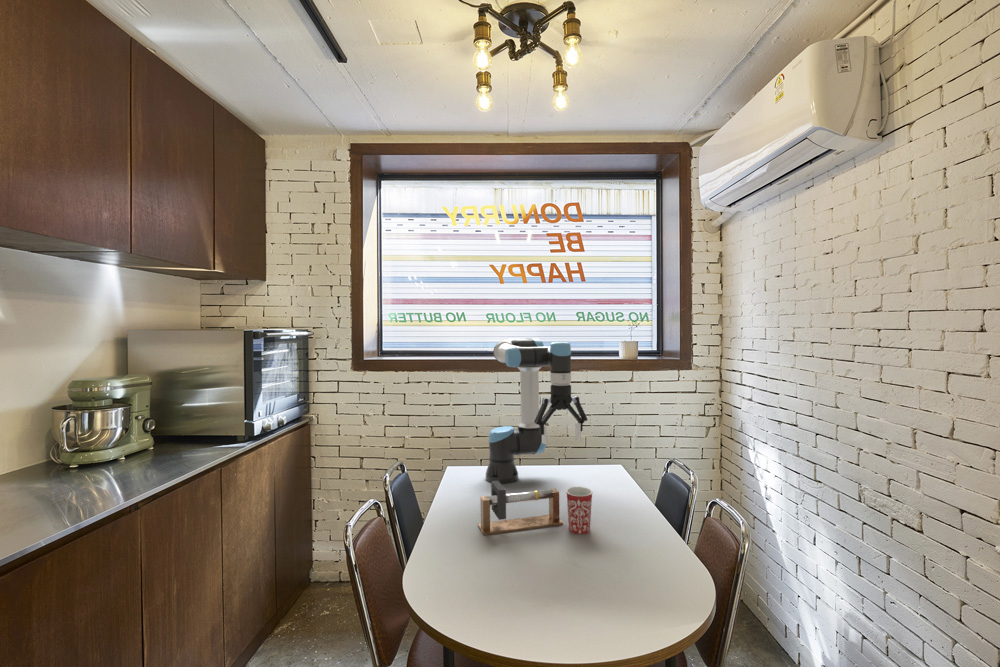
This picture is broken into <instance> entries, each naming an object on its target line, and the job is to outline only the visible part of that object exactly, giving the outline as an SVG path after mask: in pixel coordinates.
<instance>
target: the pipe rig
mask: <svg viewBox="0 0 1000 667" xmlns="http://www.w3.org/2000/svg"><path fill="white" fill-rule="evenodd" d="M479 500H480V504H479V505H480V522H479V523H478V524H477V526H478V528H479V530H480V532H481V534H482V536H487V535H488V536H489V535H496V534H504V533H511V532H517V531H525V530H532V529H533V530H534V529H541V528H547V527H549V528H550V527H555V526H556V527H557V526H563V525H564V521H562V520H561V518H560V491H559V490H558V489H557V488H548V489H542V490H532V491H523V492H522V491H521V492H515V493H506V504H511V503H519V502H520V503H521V502H529V501H539V500H548V514H545V515H544V514H543V515H536V516H528V517H520V518H512V519H502V520H497V521H496V520H495V521H491V506H492V505H496V504H497V495H495V496H491V495H484V496H482V495H481V496H480V498H479Z"/></svg>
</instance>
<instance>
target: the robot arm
mask: <svg viewBox="0 0 1000 667" xmlns="http://www.w3.org/2000/svg"><path fill="white" fill-rule="evenodd" d="M493 356H494V358H495V360H496V361H498V362H500V363H503V364H505V366H507V367H508V368H517V369H518V370H519V372H520V373H519V374H520V376H519V377H520V422H519V423H518V424H517V429H515V428H514V426H511V425H510V426H509V425H507V426H506V425H504V426H499V427H495V428H493V429H491V430H490V431H489V433H488V456H489V458H488V459H489V461H488V465H487V468H486V471H485V480H486V481H487V482H489V483H491V481H499V482H500V484H508V483H509V484H510V483H514V482H516V481H518V480H519V472H518V469H517V466H516V462H515V456H523V455H533V456H534V455H537V454H538V455H540V454H543V452H545V450H546V448H547V444H548V442H547V441H548V435H547V433H548V432H547V425H546V424H547V422H548V421H549V419H550V418H551V417H552V415H553V414H554V413H555V412H556V411H561V410H564V411H565V410H567V411H568V412H570V414H571V415H572V416H573V418H574V420H576V421H575V425H574V426H575V428H574V429H575V440H576V441H578V442H581V441H582V440H581V439H582V438H581V437H582V436H581V432H583V430H584V429H583V425H584V423H585V422H587V421H588V418H587V414H586V413H585V411H584V408H583V407H582V403H581V402H580V396H576V395H574V396H573V397H572V385H571V383H572V347H571V343H569V342H568V341H567V342H564V341H556V342H555V341H553V342H550V345H547V346H545V345H544V342H543V340H541V339H540V338H535V337H534V338H532V337H530V338H529V337H527V338H507V339H503V340H500V341H498V343H496V344H495V345H494V348H493ZM543 367H550V373H549V374H550V376H549V377H550V384H551V385H550V398H547V397H543V398H542V401H541V406H540V386H539V385H540V383H539V382H540V376H539V374H540V373H539V370H541V368H543ZM572 402H573V404H574V406H575V408H576V410H577V411H578V413H577V411H576V410H575V409H574V407H573V406H572V405H571V404H572ZM549 404H551V405H550V406H549V408H548V405H549ZM547 408H548V410H547ZM546 410H547V411H546Z"/></svg>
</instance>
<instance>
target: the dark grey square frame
mask: <svg viewBox="0 0 1000 667" xmlns="http://www.w3.org/2000/svg"><path fill="white" fill-rule="evenodd" d="M490 484H491V485H490V486H491V487H490V489H491V490H490V491H491V492H490V494H491V495H490V496H495V495H497V504H496V505H491V511H492V512H493V513H494V516H496V518H497V519H498V521H503V520H507V503H506V494H507V489H506V488H505V486H503V485H502V483H500V482H499V481H491V482H490Z"/></svg>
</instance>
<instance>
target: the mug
mask: <svg viewBox="0 0 1000 667" xmlns="http://www.w3.org/2000/svg"><path fill="white" fill-rule="evenodd" d="M565 493H566V503H567V504H566V505H567V518H568V520H567V521H568V522H567V523H568V531H570V532H571V533H572V534H577V535H585V534H588V533H590V531H591V519H592V518H591V516H592V503H593V502H592V500H593V493H594V492H593V490H592V489H591V488H588V487H584V486H571V487H569V488H567V489H566V490H565Z"/></svg>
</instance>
